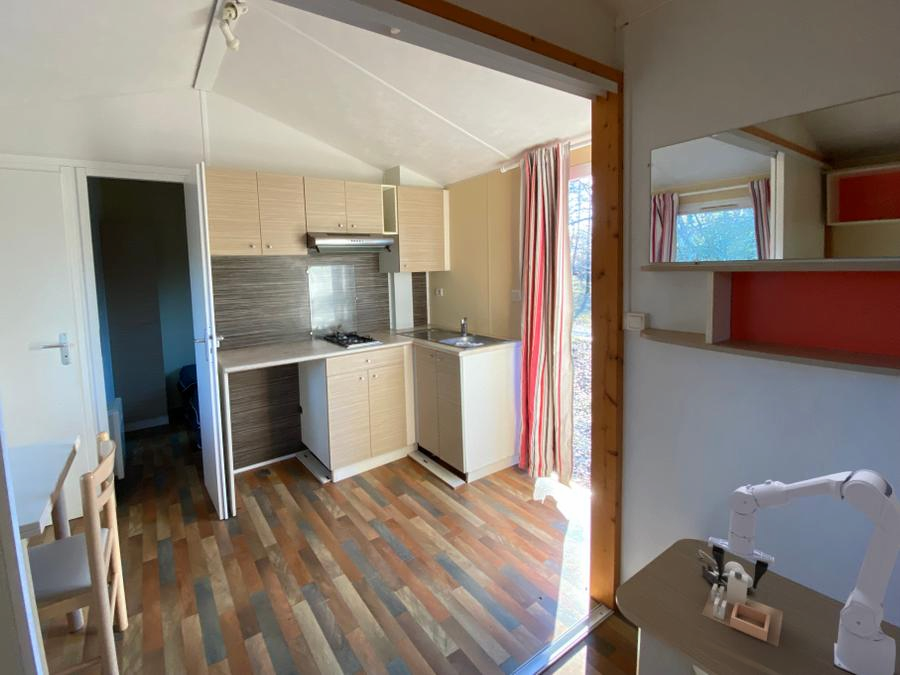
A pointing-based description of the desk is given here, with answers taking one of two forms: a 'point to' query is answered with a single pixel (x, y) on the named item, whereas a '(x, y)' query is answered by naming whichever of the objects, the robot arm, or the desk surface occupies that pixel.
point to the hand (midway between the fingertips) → (737, 580)
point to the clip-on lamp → (714, 575)
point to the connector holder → (748, 626)
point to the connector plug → (736, 588)
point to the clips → (718, 602)
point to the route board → (774, 617)
